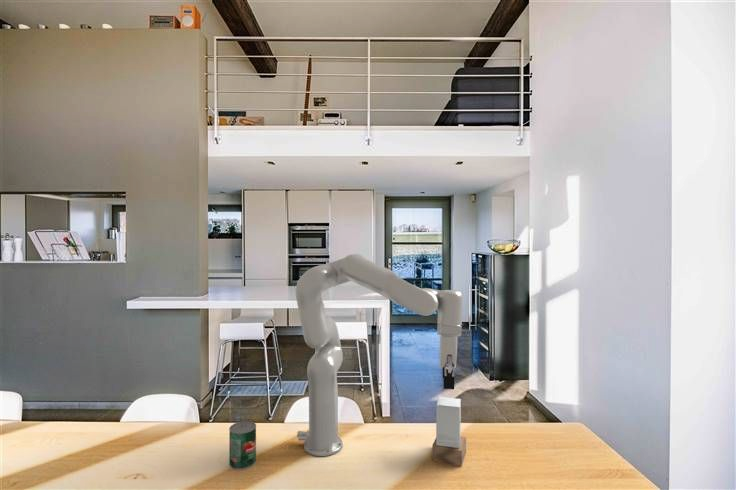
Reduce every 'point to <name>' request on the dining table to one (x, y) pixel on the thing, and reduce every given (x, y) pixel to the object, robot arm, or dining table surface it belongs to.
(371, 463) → the dining table surface
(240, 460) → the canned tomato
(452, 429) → the supplement box
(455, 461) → the walnut block
